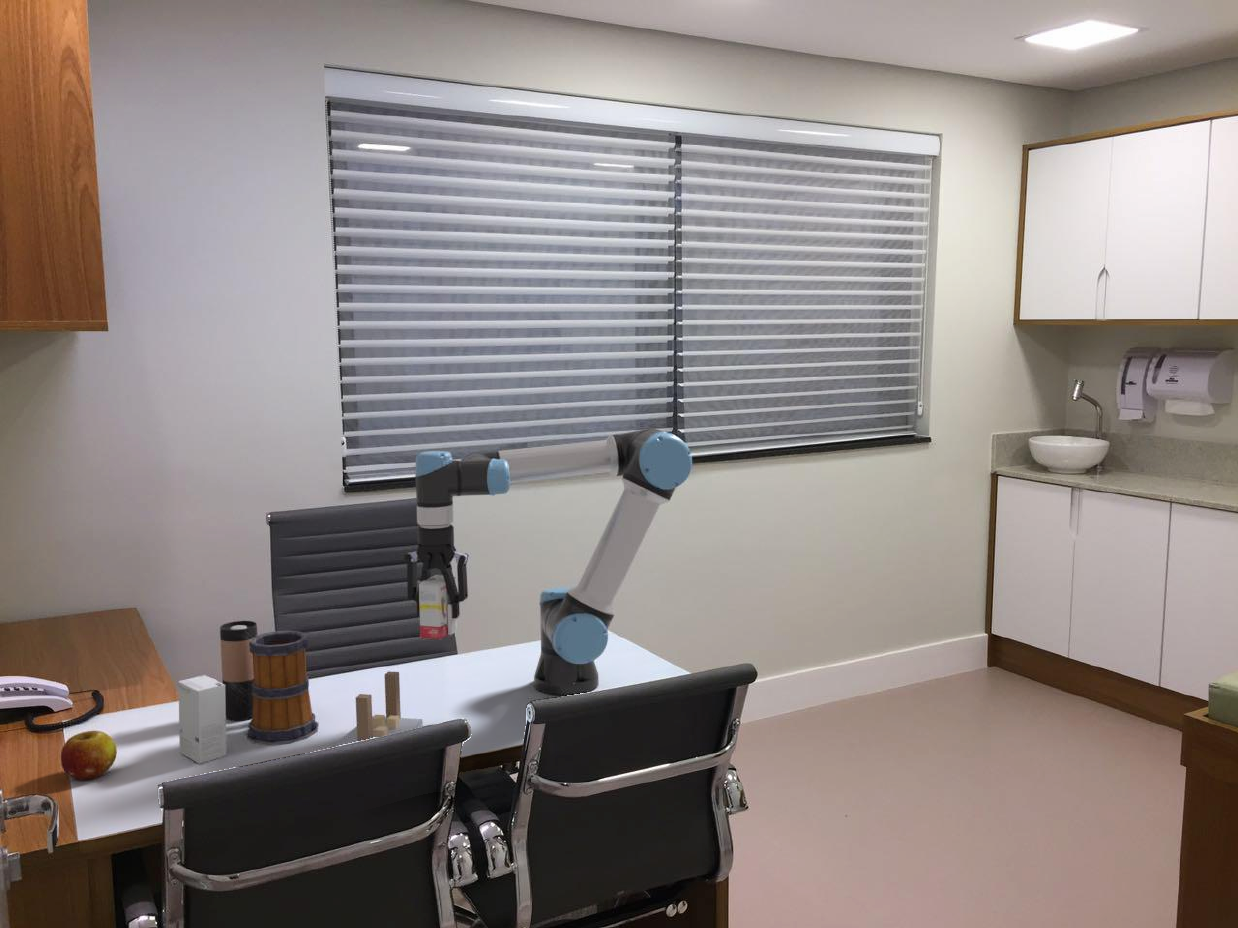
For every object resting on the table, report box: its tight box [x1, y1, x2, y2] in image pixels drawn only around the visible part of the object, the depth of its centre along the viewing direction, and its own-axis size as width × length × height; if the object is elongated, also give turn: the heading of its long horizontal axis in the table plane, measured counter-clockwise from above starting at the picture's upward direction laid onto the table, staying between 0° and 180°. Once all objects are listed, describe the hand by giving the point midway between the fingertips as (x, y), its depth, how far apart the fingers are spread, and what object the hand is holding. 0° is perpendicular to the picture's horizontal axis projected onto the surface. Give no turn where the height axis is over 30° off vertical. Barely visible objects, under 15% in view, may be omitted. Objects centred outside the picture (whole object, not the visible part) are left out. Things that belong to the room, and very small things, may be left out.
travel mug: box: [219, 620, 258, 722], centre depth 220 cm, size 8×8×20 cm
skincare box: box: [177, 674, 227, 764], centre depth 199 cm, size 8×6×15 cm
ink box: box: [418, 574, 458, 640], centre depth 217 cm, size 9×5×12 cm, turn 164°
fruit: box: [60, 730, 118, 781], centre depth 191 cm, size 10×9×8 cm
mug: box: [245, 630, 319, 746], centre depth 213 cm, size 19×14×20 cm
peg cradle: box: [334, 671, 423, 747], centre depth 207 cm, size 12×16×12 cm
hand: (438, 632), depth 217 cm, fingers closed on ink box, 5 cm apart
